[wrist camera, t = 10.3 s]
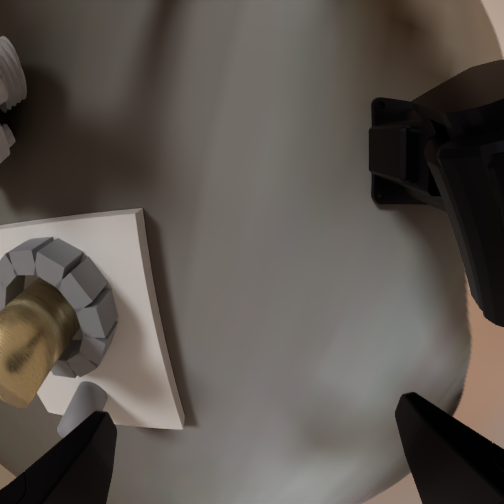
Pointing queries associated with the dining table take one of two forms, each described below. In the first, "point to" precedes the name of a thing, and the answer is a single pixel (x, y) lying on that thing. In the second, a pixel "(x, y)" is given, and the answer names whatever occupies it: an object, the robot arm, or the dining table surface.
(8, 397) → the brass cylinder
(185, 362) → the dining table surface
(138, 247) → the stone fire pit
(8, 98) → the mechanical valve
